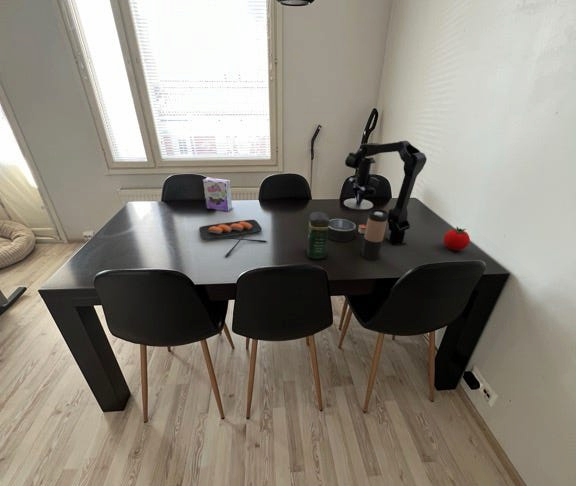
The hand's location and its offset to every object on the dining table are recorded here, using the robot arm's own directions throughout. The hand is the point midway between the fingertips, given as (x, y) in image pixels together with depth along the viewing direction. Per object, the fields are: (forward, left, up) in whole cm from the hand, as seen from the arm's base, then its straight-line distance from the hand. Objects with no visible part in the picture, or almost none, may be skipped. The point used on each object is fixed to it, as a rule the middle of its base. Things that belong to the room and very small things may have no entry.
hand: (358, 202), depth 150 cm
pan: (-12, +13, -11) cm, 21 cm away
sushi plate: (-8, +64, -11) cm, 66 cm away
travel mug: (-33, +7, -11) cm, 36 cm away
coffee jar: (-28, +30, -11) cm, 43 cm away
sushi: (-11, -1, -11) cm, 16 cm away
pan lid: (0, 0, -1) cm, 1 cm away
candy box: (+31, +70, -11) cm, 78 cm away
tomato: (-34, -34, -11) cm, 49 cm away
